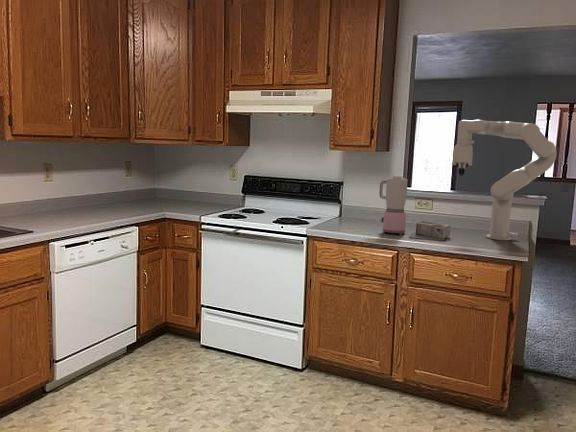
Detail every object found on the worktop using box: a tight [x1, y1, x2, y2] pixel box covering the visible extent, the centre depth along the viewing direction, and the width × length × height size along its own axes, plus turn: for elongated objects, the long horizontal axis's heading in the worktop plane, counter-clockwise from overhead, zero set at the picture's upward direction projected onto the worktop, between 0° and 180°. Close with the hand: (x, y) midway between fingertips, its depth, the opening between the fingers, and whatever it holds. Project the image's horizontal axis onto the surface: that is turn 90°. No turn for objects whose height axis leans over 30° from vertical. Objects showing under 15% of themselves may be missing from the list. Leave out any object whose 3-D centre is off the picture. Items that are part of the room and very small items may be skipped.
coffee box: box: [415, 220, 452, 239], centre depth 269 cm, size 9×6×16 cm
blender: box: [379, 175, 409, 236], centre depth 273 cm, size 16×12×32 cm
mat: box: [409, 231, 446, 242], centre depth 267 cm, size 18×15×1 cm
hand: (461, 175), depth 277 cm, fingers closed
